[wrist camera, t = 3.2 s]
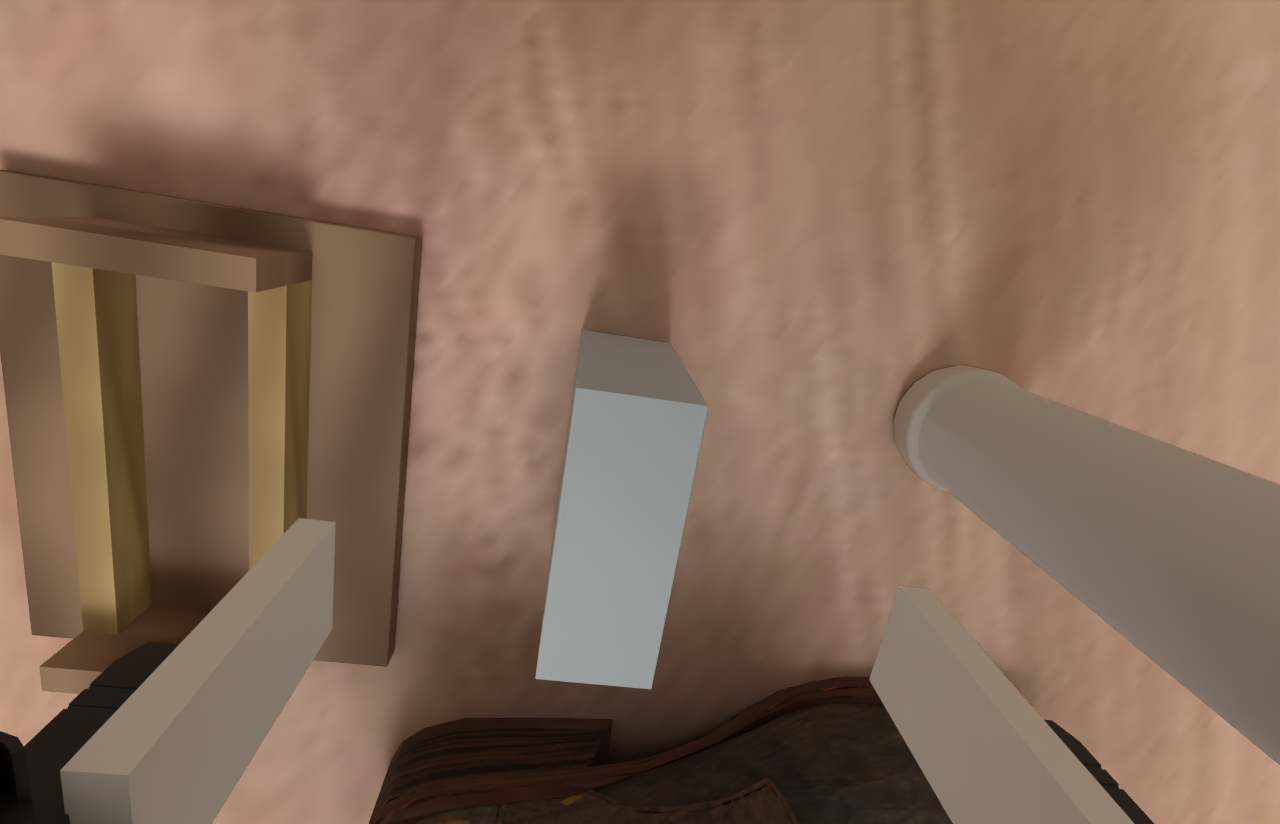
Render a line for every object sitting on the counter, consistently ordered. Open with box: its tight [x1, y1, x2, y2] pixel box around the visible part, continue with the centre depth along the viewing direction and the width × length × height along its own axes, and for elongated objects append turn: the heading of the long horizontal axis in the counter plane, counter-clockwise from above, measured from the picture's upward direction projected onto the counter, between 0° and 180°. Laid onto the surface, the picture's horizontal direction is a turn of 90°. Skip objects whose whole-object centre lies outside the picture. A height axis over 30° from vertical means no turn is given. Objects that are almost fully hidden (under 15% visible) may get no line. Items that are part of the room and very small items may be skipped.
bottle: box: [893, 365, 1280, 765], centre depth 16 cm, size 5×5×25 cm
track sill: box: [0, 170, 422, 694], centre depth 23 cm, size 14×18×5 cm
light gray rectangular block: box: [535, 330, 708, 689], centre depth 22 cm, size 4×9×9 cm, turn 171°
